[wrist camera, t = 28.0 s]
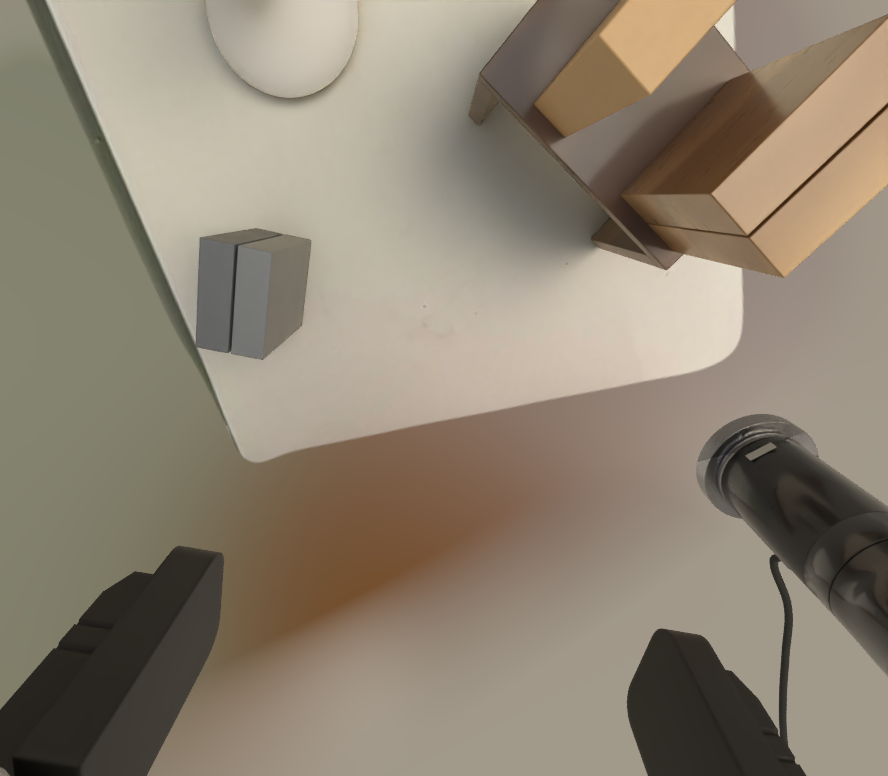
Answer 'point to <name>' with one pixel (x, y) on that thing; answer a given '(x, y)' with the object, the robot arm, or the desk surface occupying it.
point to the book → (626, 59)
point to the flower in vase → (285, 41)
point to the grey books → (250, 291)
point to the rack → (712, 141)
